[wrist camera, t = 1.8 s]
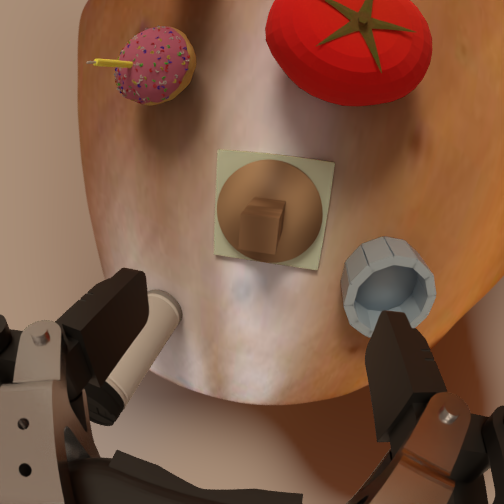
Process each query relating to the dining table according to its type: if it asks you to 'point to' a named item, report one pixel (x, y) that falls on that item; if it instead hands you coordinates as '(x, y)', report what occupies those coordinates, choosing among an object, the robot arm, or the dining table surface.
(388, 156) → the dining table surface
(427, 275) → the bowl
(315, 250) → the trivet
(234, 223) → the lid
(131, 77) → the cupcake
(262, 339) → the dining table surface
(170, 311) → the travel mug
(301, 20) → the tomato
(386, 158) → the dining table surface
